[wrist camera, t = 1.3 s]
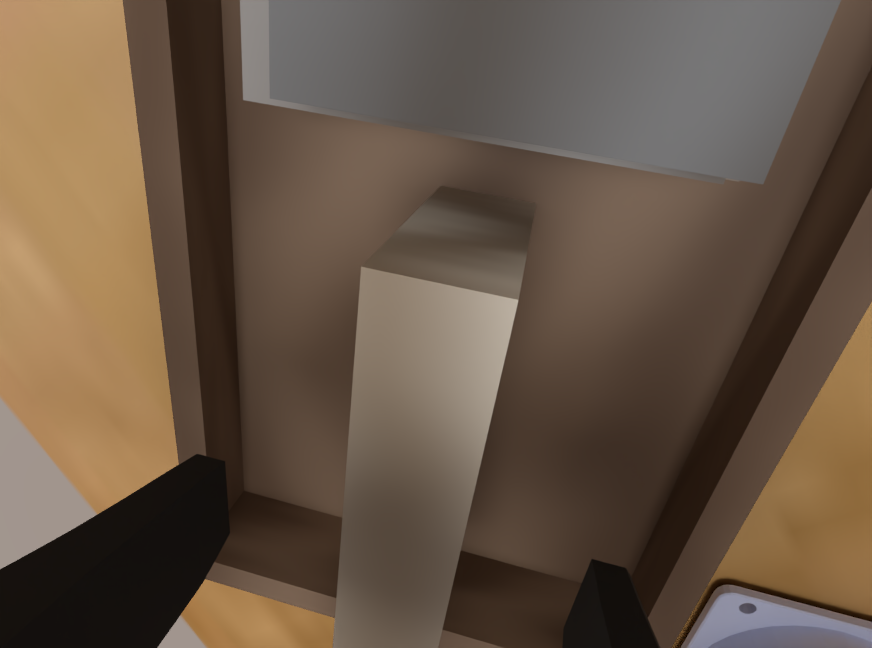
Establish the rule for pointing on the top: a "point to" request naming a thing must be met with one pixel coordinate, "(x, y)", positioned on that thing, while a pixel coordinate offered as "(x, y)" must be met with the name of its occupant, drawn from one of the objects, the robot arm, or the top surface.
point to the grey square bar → (551, 73)
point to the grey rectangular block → (423, 410)
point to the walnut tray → (530, 337)
